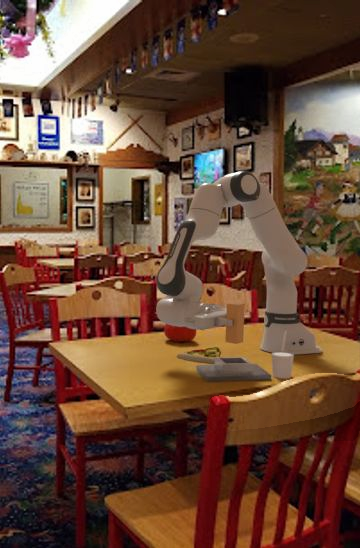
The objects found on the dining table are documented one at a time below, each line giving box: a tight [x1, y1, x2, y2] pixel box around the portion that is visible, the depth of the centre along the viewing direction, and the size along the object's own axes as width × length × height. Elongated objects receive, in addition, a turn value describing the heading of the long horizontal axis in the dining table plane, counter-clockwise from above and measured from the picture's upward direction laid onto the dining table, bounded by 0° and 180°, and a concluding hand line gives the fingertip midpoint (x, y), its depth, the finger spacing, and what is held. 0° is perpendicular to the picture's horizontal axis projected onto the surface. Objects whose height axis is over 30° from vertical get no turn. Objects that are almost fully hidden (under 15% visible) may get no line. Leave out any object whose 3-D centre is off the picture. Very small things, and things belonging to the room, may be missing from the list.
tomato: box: [163, 323, 197, 343], centre depth 248 cm, size 13×12×8 cm
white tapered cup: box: [271, 352, 295, 379], centre depth 200 cm, size 7×7×7 cm
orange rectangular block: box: [225, 302, 245, 345], centre depth 198 cm, size 4×4×12 cm
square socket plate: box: [195, 356, 272, 383], centre depth 200 cm, size 20×14×4 cm
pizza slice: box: [176, 346, 221, 365], centre depth 225 cm, size 16×21×3 cm
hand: (237, 321), depth 198 cm, fingers closed on orange rectangular block, 4 cm apart
